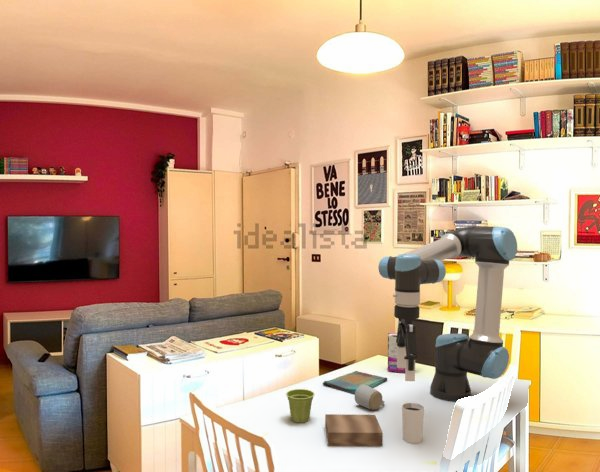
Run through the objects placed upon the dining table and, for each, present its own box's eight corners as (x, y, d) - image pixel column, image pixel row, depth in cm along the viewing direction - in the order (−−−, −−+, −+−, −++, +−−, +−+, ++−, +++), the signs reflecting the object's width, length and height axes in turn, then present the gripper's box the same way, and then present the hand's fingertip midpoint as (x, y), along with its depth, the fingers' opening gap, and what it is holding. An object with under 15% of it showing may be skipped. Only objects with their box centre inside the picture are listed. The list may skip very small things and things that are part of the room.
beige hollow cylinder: (409, 445, 153) (410, 412, 152) (396, 436, 159) (397, 404, 158) (428, 441, 155) (428, 408, 155) (414, 433, 161) (415, 401, 161)
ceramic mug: (369, 413, 178) (370, 391, 178) (353, 406, 184) (354, 385, 184) (389, 407, 184) (390, 386, 184) (373, 400, 190) (373, 380, 190)
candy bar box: (412, 370, 229) (413, 333, 228) (413, 373, 224) (414, 336, 223) (387, 368, 230) (387, 332, 230) (387, 372, 226) (388, 334, 225)
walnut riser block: (374, 426, 166) (375, 414, 166) (382, 446, 152) (382, 432, 152) (325, 426, 166) (325, 414, 165) (328, 445, 152) (328, 432, 151)
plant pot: (293, 427, 165) (294, 400, 165) (281, 416, 173) (281, 391, 173) (319, 422, 169) (319, 395, 169) (305, 412, 178) (306, 387, 177)
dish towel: (321, 387, 206) (321, 380, 206) (354, 374, 224) (354, 368, 224) (356, 397, 195) (357, 390, 195) (388, 382, 213) (388, 376, 213)
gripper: (388, 298, 170) (386, 362, 171) (402, 312, 145) (400, 386, 146) (410, 299, 170) (409, 362, 171) (429, 312, 145) (427, 387, 146)
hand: (405, 374), depth 158 cm, fingers open, 13 cm apart
